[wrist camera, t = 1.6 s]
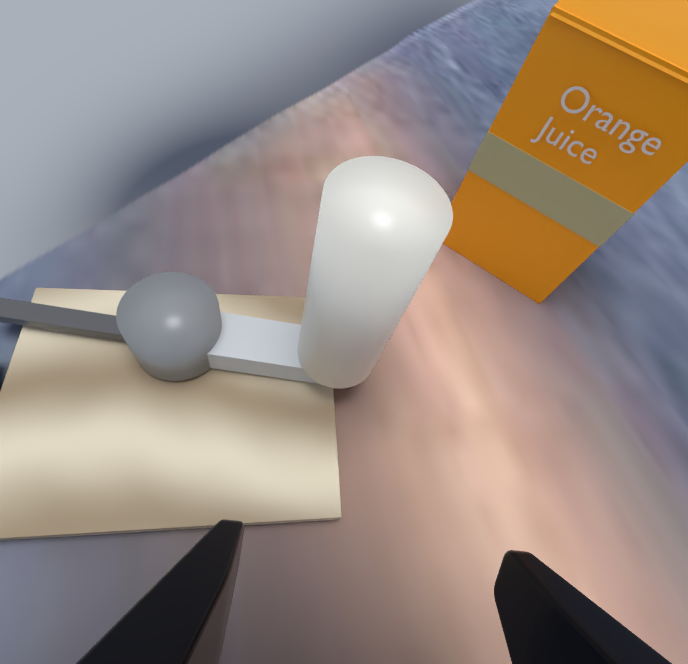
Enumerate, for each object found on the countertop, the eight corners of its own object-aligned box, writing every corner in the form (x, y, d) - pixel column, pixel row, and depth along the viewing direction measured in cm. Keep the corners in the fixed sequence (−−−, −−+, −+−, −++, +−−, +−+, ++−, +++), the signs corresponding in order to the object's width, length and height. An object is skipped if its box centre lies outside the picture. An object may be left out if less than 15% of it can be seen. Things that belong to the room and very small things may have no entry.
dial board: (337, 519, 20) (341, 516, 19) (-127, 548, 17) (-150, 547, 16) (325, 307, 26) (327, 297, 25) (-21, 296, 22) (-33, 284, 21)
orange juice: (539, 305, 29) (944, -82, 12) (431, 237, 30) (652, -195, 13) (573, 242, 33) (915, -119, 16) (476, 184, 34) (691, -203, 17)
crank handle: (-31, 352, 20) (-330, 127, 10) (15, 278, 22) (-190, 33, 12) (366, 408, 22) (456, 270, 12) (371, 335, 24) (449, 166, 14)
